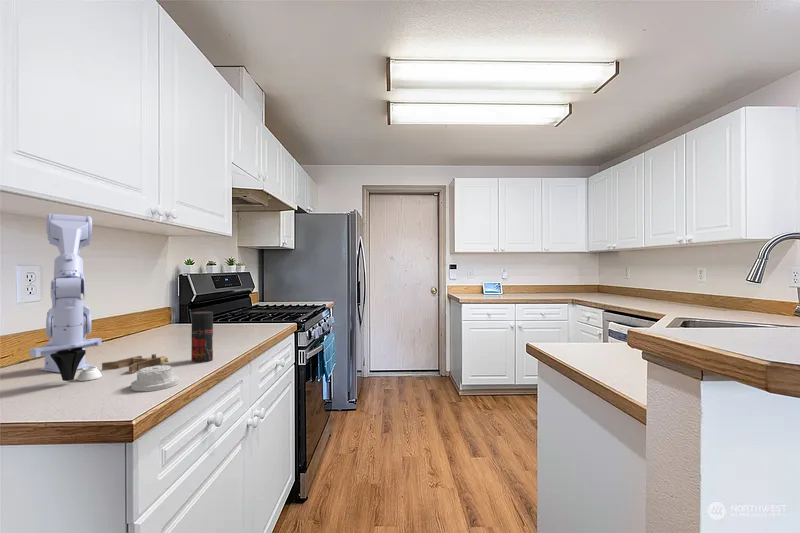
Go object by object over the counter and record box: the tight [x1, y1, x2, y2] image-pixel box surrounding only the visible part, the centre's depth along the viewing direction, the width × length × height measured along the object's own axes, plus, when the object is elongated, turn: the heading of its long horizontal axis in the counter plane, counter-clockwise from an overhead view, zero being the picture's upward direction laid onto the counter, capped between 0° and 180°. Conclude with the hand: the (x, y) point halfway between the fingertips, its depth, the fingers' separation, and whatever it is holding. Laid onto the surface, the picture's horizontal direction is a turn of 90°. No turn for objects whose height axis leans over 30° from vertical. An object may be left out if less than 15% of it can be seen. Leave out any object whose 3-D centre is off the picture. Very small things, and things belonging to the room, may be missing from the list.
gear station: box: [101, 353, 169, 375], centre depth 114 cm, size 12×15×2 cm
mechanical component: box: [130, 364, 180, 392], centre depth 95 cm, size 10×4×10 cm
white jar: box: [76, 366, 103, 382], centre depth 100 cm, size 5×3×5 cm
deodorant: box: [191, 311, 214, 364], centre depth 120 cm, size 6×6×15 cm
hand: (68, 380), depth 96 cm, fingers closed
